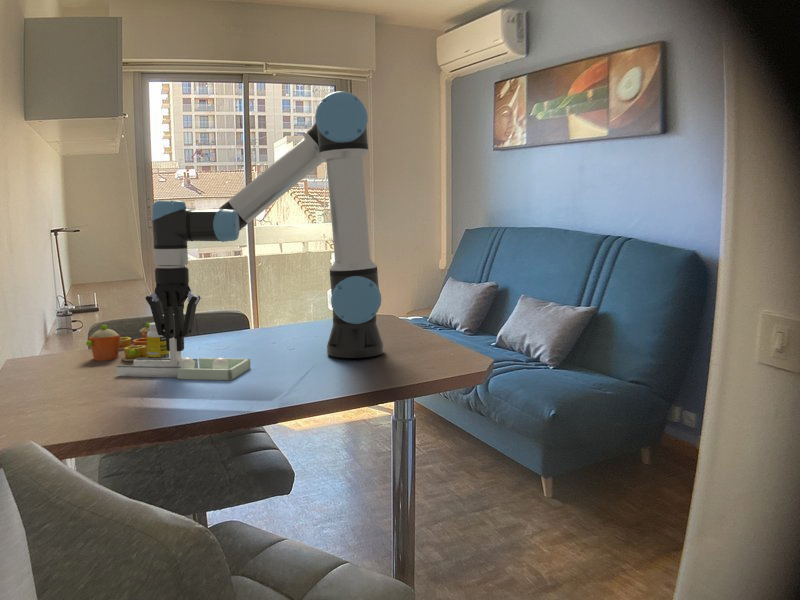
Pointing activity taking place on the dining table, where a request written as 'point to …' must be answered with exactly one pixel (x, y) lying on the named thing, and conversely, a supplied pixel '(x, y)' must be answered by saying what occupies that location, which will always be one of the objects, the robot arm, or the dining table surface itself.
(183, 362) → the chip ball
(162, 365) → the slot rails
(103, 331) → the toy tea set
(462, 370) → the dining table surface
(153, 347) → the supplement bottle
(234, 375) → the tray
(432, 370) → the dining table surface
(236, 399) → the dining table surface
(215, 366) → the chip ball
